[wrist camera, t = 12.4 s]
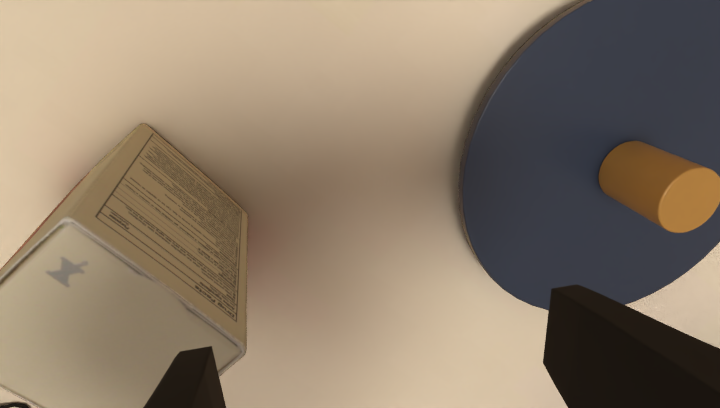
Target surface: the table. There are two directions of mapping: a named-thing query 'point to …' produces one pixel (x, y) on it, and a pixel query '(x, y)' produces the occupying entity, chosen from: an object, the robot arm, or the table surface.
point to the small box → (124, 282)
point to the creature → (21, 406)
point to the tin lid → (599, 152)
